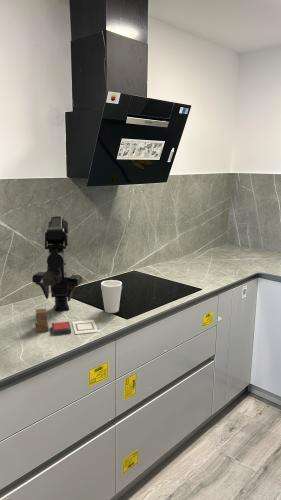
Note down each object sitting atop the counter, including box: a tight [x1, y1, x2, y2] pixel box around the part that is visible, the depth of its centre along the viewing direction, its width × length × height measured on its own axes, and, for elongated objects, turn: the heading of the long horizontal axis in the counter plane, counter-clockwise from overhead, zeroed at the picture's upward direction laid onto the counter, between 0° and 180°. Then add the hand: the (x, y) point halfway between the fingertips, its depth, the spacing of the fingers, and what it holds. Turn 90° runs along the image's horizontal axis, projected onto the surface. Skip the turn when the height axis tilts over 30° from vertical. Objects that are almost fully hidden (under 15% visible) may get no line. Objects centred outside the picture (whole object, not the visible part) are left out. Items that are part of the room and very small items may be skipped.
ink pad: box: [51, 321, 72, 336], centre depth 159 cm, size 8×7×2 cm
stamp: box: [34, 308, 50, 333], centre depth 158 cm, size 5×5×8 cm
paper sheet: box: [71, 319, 99, 336], centre depth 161 cm, size 12×9×1 cm
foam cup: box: [100, 279, 123, 314], centre depth 178 cm, size 10×9×13 cm
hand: (58, 299), depth 153 cm, fingers open, 9 cm apart
